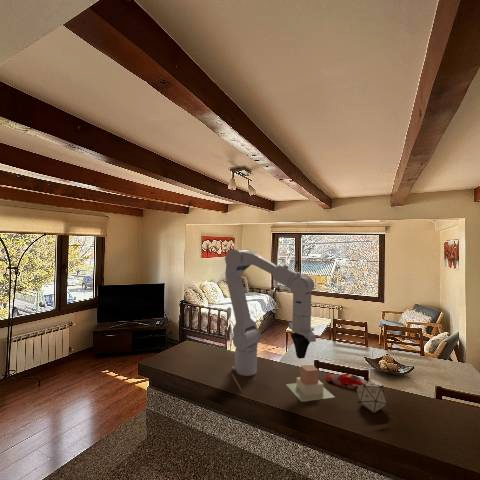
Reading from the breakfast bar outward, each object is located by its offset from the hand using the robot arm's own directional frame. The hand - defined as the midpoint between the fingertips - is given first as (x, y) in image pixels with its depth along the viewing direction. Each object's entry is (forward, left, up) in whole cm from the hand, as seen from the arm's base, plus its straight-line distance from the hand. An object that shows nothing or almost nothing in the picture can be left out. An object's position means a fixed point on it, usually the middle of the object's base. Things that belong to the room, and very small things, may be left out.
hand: (300, 357), depth 95 cm
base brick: (+2, +2, -9) cm, 10 cm away
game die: (+15, +14, -11) cm, 23 cm away
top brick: (+2, +2, -6) cm, 7 cm away
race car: (+1, +16, -11) cm, 19 cm away
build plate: (+2, +2, -10) cm, 11 cm away
